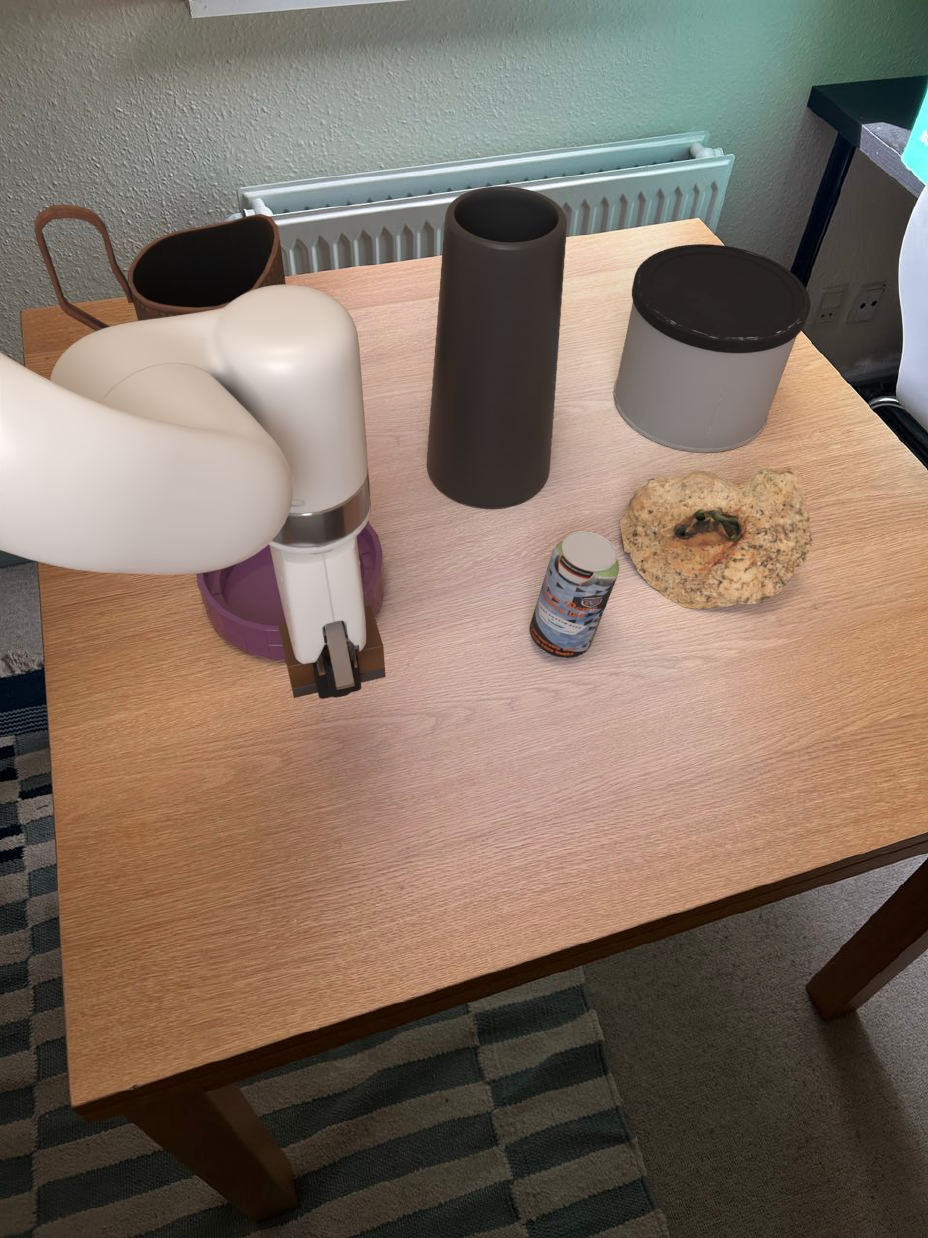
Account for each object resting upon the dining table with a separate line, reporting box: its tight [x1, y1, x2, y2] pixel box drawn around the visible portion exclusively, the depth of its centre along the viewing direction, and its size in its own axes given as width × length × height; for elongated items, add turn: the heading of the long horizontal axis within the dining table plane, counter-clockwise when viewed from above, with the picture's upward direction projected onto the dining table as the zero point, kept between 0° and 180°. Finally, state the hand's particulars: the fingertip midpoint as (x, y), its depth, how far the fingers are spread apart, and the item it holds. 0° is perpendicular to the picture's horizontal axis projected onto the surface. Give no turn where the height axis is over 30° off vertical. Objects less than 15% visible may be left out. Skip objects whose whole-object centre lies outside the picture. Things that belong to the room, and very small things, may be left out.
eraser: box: [278, 605, 386, 699], centre depth 68 cm, size 7×4×4 cm, turn 107°
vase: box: [426, 185, 568, 510], centre depth 90 cm, size 14×14×29 cm
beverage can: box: [528, 530, 620, 659], centre depth 83 cm, size 6×7×12 cm
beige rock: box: [619, 466, 814, 610], centre depth 92 cm, size 18×14×8 cm
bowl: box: [195, 521, 385, 661], centre depth 88 cm, size 17×17×5 cm
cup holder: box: [33, 204, 287, 332], centre depth 97 cm, size 18×24×25 cm
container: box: [613, 243, 811, 453], centre depth 104 cm, size 19×19×15 cm
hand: (333, 665), depth 70 cm, fingers closed on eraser, 4 cm apart
